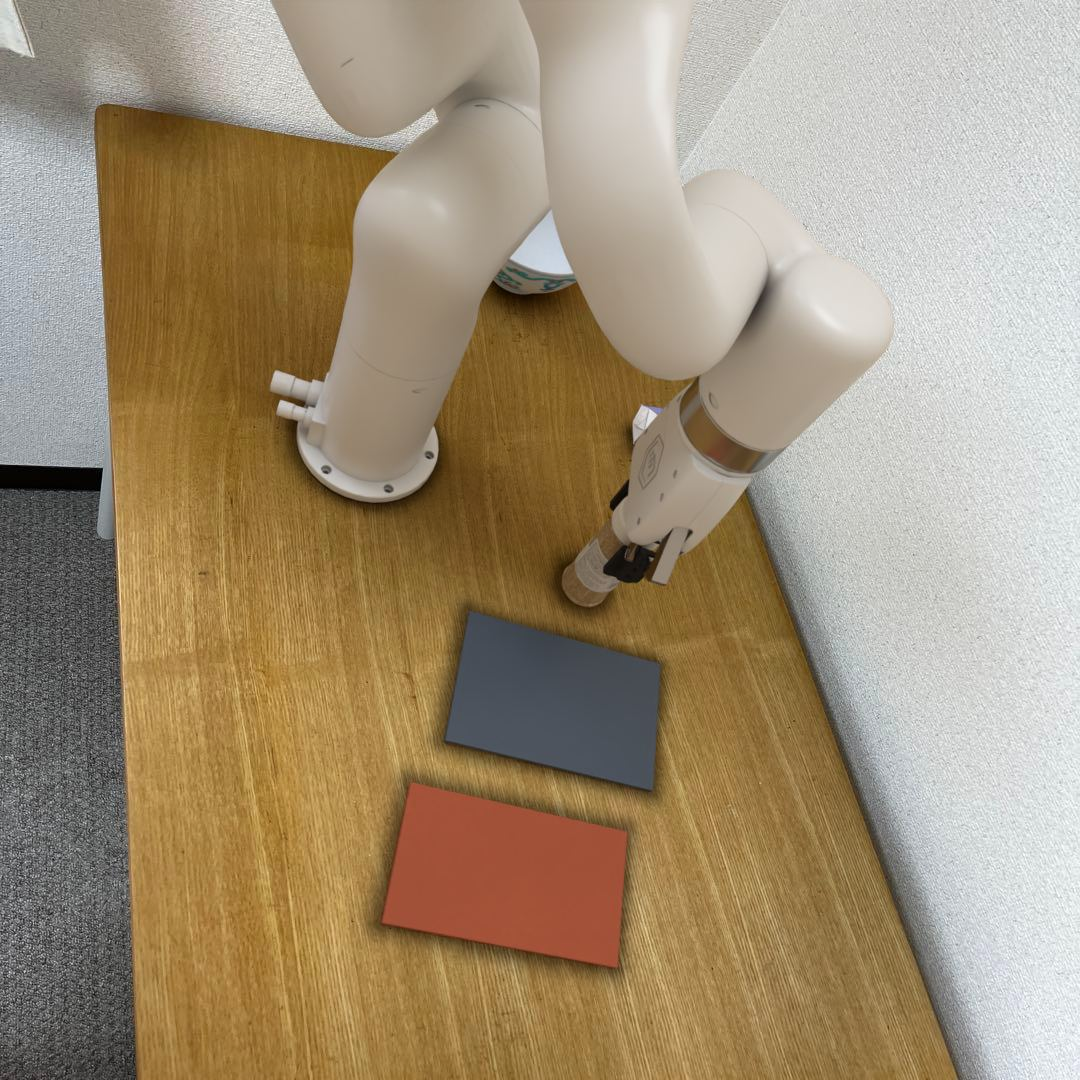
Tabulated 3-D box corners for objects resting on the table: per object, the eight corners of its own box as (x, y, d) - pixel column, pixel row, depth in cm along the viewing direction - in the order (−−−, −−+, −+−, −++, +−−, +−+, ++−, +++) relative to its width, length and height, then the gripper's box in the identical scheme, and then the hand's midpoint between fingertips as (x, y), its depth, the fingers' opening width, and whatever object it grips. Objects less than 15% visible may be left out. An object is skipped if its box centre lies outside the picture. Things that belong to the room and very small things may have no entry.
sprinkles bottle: (592, 559, 84) (656, 485, 73) (613, 601, 82) (682, 533, 71) (551, 571, 82) (611, 497, 71) (572, 615, 80) (637, 547, 69)
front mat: (380, 924, 63) (382, 923, 62) (409, 783, 68) (411, 781, 68) (614, 968, 67) (617, 967, 67) (624, 833, 72) (627, 831, 72)
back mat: (443, 742, 71) (445, 740, 70) (468, 613, 77) (470, 610, 76) (650, 792, 75) (653, 790, 74) (657, 666, 81) (660, 663, 80)
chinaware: (422, 235, 96) (440, 177, 90) (529, 208, 104) (552, 154, 97) (499, 340, 93) (523, 289, 86) (603, 305, 101) (632, 255, 94)
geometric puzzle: (689, 405, 95) (681, 373, 87) (718, 460, 92) (712, 431, 85) (627, 436, 96) (615, 406, 88) (654, 490, 93) (644, 465, 86)
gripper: (690, 309, 64) (591, 448, 79) (679, 508, 55) (569, 622, 69) (782, 344, 65) (668, 473, 80) (786, 543, 56) (657, 647, 71)
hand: (623, 541), depth 75 cm, fingers open, 5 cm apart
